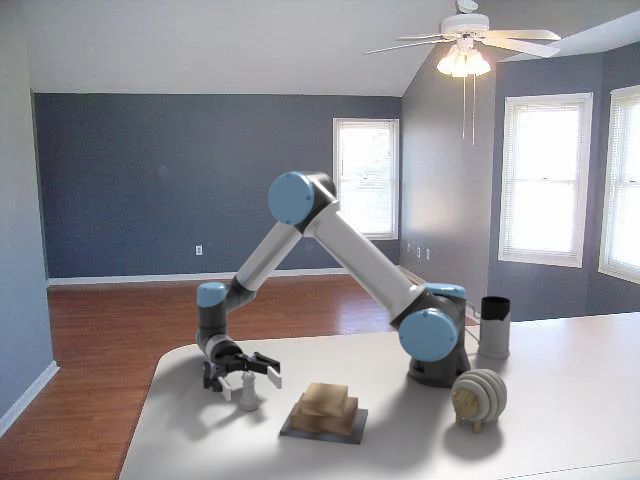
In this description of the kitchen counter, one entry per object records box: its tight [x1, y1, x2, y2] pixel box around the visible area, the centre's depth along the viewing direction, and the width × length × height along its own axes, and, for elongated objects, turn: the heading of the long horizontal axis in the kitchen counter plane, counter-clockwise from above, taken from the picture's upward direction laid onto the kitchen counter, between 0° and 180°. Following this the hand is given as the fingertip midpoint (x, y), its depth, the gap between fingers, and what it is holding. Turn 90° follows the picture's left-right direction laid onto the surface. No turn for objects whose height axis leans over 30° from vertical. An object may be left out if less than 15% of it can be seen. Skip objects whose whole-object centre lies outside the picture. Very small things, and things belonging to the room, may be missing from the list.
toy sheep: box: [450, 368, 508, 434], centre depth 105 cm, size 11×17×11 cm, turn 138°
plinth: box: [279, 382, 369, 445], centre depth 105 cm, size 16×12×7 cm
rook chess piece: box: [239, 371, 260, 412], centre depth 112 cm, size 4×4×8 cm
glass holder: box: [465, 295, 512, 359], centre depth 142 cm, size 9×14×15 cm, turn 71°
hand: (255, 388), depth 109 cm, fingers open, 11 cm apart
